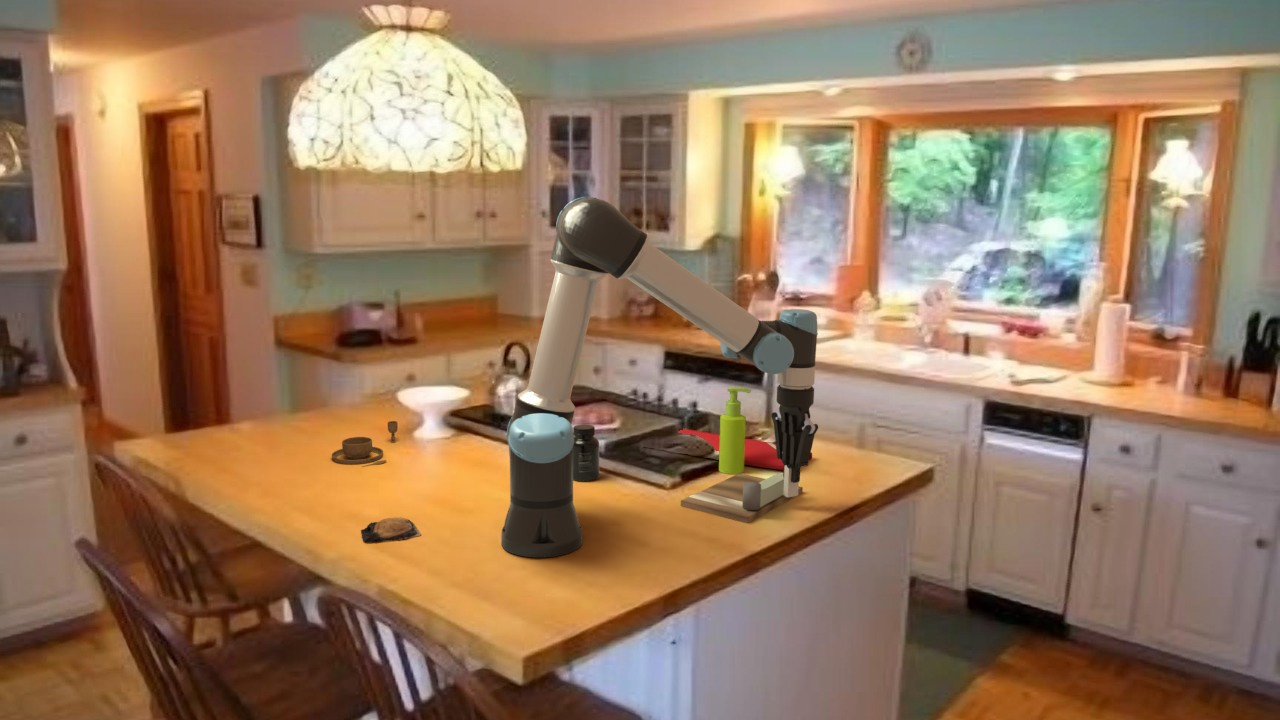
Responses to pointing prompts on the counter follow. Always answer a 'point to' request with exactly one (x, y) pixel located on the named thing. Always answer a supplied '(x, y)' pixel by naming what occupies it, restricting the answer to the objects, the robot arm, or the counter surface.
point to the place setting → (362, 449)
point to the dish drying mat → (748, 450)
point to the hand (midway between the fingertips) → (790, 495)
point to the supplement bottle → (585, 453)
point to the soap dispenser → (732, 435)
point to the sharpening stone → (762, 492)
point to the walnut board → (730, 499)
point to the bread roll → (389, 530)
